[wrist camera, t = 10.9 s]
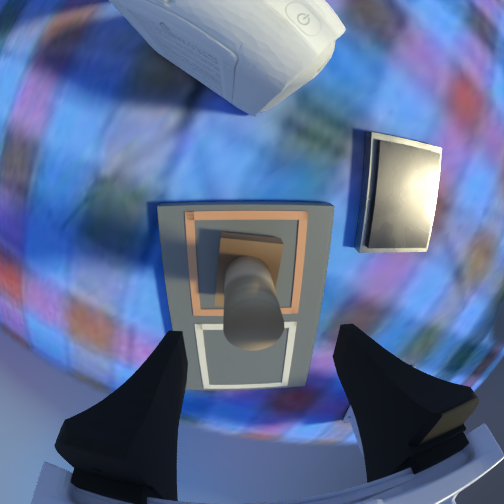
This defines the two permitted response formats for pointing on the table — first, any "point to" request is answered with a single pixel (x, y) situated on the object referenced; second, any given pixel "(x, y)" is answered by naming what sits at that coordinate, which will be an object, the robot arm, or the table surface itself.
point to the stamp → (249, 289)
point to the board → (211, 317)
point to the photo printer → (240, 43)
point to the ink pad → (397, 194)
